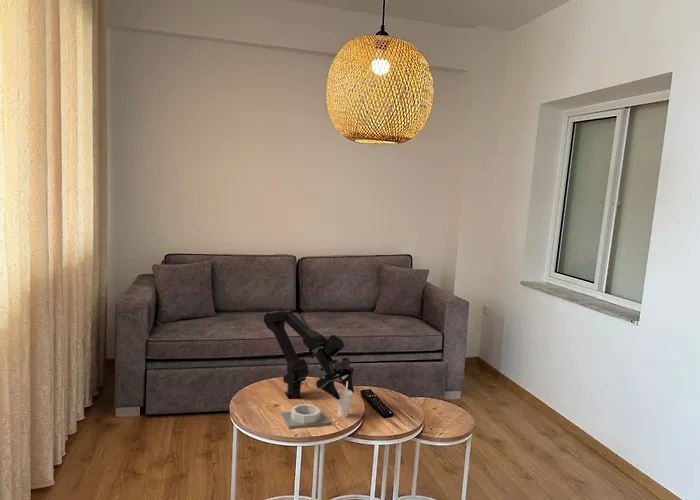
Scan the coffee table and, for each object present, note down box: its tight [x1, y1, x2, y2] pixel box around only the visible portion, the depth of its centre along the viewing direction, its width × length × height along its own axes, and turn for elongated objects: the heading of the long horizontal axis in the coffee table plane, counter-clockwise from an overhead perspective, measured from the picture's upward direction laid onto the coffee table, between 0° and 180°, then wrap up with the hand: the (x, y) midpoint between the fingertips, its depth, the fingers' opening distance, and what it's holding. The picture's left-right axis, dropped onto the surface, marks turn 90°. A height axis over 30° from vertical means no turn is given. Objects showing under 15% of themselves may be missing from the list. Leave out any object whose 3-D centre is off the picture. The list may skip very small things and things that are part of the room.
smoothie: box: [337, 381, 354, 417], centre depth 204 cm, size 6×6×14 cm
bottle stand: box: [280, 403, 331, 429], centre depth 197 cm, size 12×16×4 cm
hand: (346, 396), depth 203 cm, fingers open, 9 cm apart
